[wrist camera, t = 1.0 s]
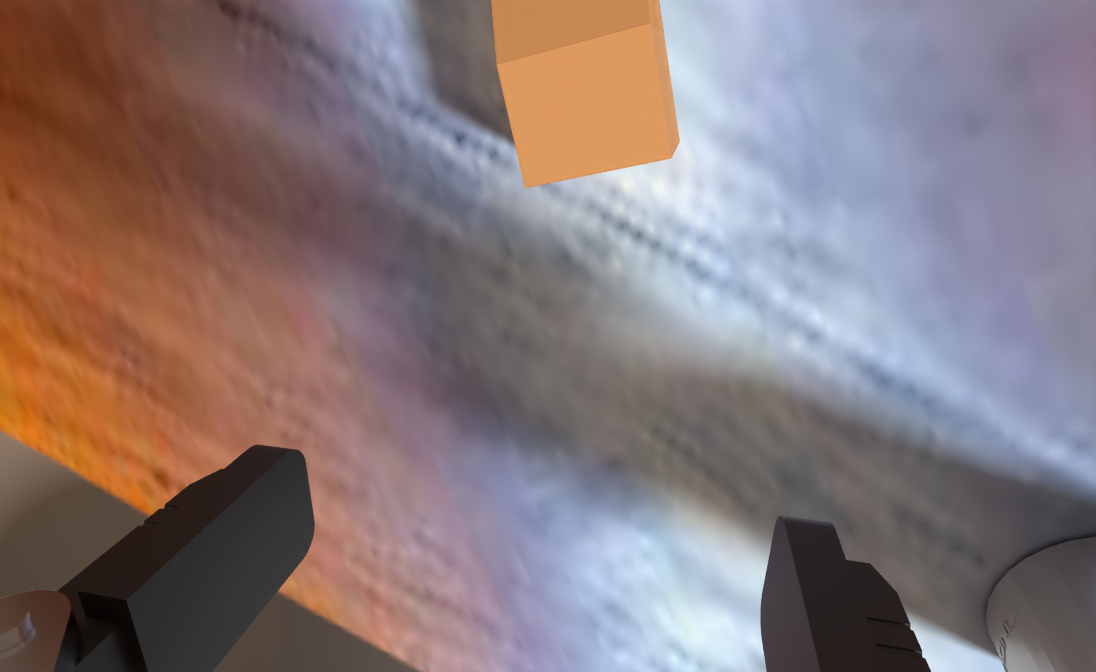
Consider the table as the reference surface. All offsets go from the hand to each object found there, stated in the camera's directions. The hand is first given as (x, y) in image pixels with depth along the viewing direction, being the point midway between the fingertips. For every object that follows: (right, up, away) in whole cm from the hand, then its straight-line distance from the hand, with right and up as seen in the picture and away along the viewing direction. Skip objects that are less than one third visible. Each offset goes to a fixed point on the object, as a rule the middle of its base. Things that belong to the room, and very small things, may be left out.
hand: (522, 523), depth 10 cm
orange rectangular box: (+2, +16, +14) cm, 21 cm away
